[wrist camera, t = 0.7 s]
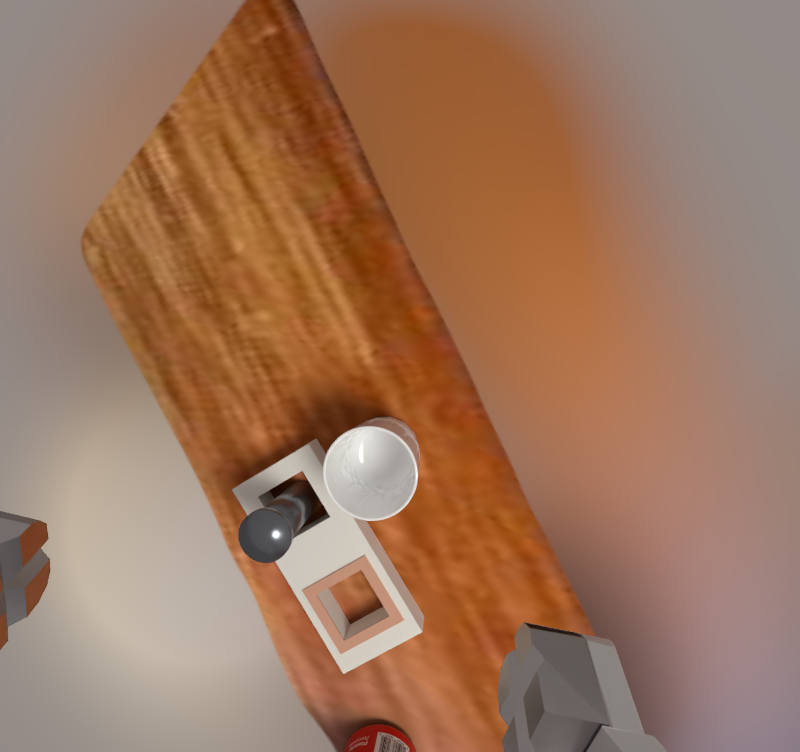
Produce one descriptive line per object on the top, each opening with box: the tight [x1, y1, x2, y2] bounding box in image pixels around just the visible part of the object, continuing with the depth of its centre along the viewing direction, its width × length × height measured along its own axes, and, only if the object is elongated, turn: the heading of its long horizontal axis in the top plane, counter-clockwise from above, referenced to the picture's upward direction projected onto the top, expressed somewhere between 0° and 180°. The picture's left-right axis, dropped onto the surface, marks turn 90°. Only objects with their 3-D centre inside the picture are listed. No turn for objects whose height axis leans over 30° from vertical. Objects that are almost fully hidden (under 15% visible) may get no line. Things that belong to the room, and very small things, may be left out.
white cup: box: [323, 416, 420, 521], centre depth 51 cm, size 8×8×10 cm
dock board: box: [232, 438, 424, 674], centre depth 56 cm, size 21×9×3 cm, turn 31°
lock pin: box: [239, 481, 320, 563], centre depth 52 cm, size 4×4×11 cm
